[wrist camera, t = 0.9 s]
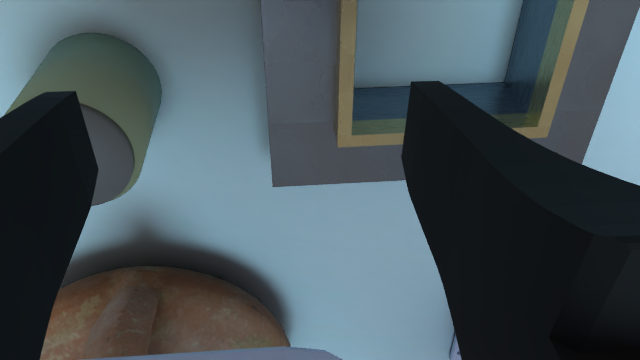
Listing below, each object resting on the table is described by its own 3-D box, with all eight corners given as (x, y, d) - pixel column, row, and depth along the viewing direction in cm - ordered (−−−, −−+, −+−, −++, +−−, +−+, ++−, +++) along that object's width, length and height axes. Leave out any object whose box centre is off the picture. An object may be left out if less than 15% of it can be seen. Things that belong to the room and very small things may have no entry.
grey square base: (554, 138, 25) (590, 185, 22) (271, 151, 24) (273, 202, 21) (664, -208, 17) (741, -200, 14) (248, -206, 16) (246, -198, 13)
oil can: (170, 131, 23) (151, 208, 19) (61, 136, 23) (20, 215, 19) (150, 30, 20) (123, 96, 16) (26, 34, 20) (-31, 102, 16)
